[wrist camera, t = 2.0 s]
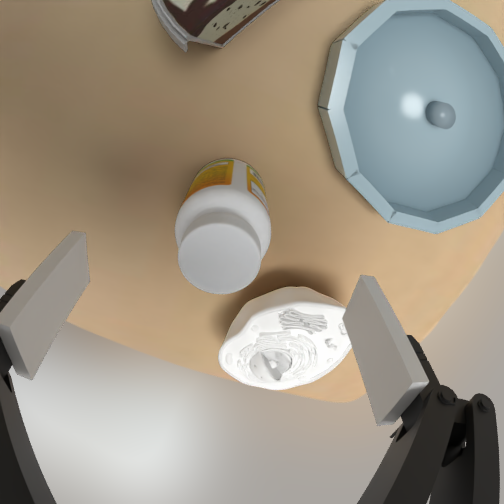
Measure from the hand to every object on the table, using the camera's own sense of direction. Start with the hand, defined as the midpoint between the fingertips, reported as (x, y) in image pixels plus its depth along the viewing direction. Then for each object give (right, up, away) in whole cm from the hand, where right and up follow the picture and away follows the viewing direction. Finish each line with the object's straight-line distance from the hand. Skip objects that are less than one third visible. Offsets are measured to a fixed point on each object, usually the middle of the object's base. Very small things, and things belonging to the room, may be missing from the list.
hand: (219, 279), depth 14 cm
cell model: (+4, -4, +15) cm, 16 cm away
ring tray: (+15, +12, +6) cm, 20 cm away
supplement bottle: (0, +6, +9) cm, 11 cm away
